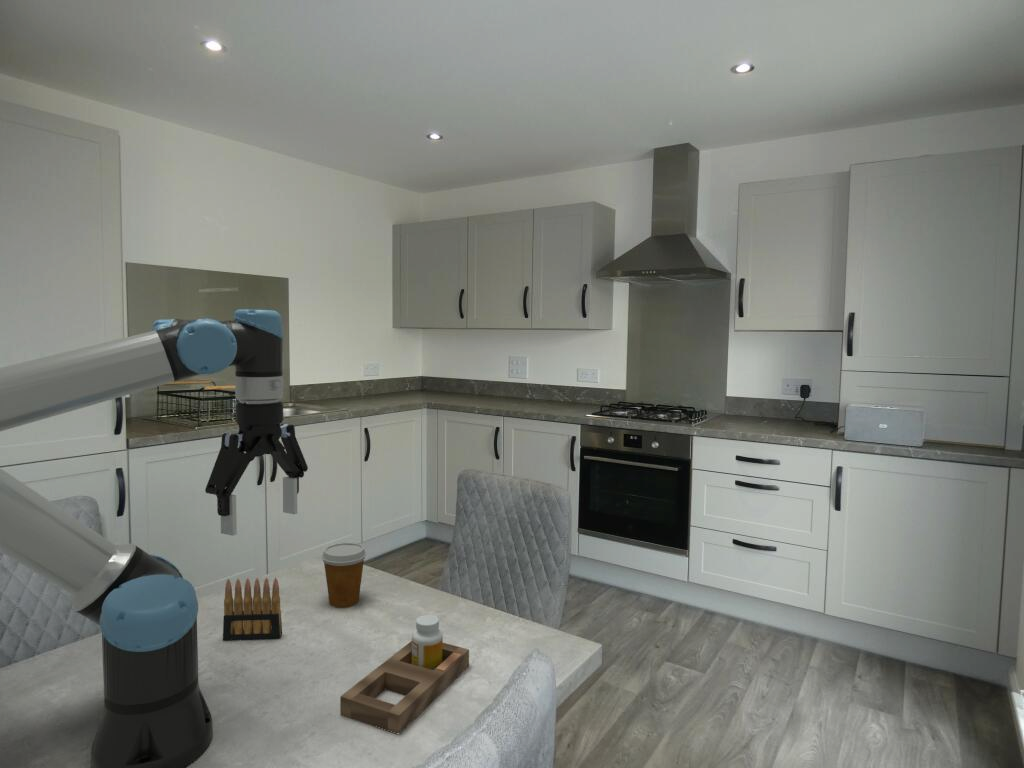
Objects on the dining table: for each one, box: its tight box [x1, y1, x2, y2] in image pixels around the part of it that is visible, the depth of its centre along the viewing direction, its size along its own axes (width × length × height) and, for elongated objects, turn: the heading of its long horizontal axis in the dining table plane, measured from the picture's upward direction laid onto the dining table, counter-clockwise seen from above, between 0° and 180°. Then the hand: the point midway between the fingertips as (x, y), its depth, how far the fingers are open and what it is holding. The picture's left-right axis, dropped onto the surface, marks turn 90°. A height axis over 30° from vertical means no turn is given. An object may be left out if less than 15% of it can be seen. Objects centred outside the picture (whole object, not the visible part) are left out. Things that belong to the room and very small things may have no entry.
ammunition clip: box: [222, 577, 283, 642], centre depth 122 cm, size 11×2×12 cm, turn 97°
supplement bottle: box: [411, 614, 444, 670], centre depth 111 cm, size 5×5×10 cm
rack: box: [339, 640, 470, 734], centre depth 106 cm, size 22×11×3 cm, turn 155°
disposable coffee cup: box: [321, 542, 367, 609], centre depth 139 cm, size 10×10×12 cm
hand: (261, 523), depth 109 cm, fingers open, 13 cm apart
